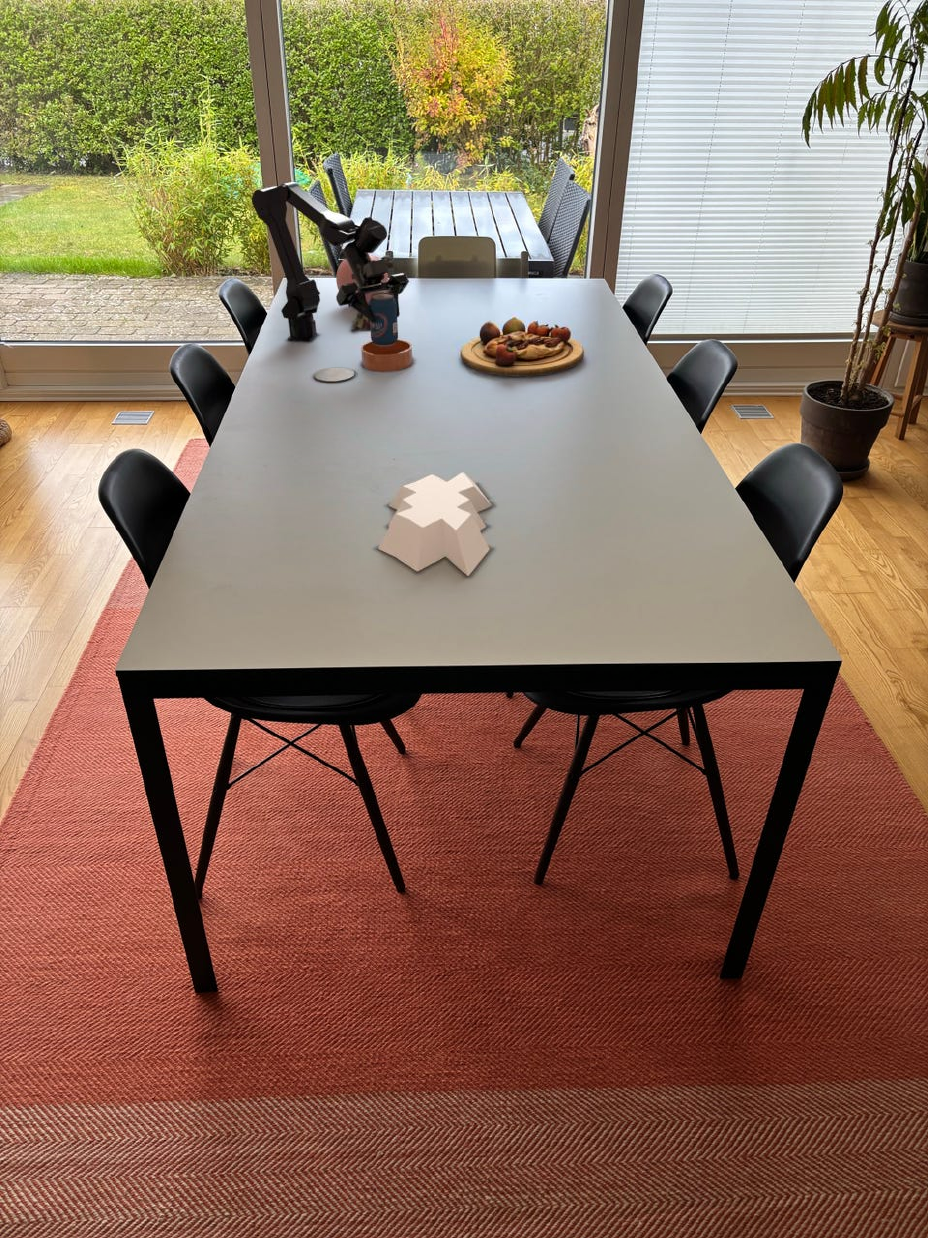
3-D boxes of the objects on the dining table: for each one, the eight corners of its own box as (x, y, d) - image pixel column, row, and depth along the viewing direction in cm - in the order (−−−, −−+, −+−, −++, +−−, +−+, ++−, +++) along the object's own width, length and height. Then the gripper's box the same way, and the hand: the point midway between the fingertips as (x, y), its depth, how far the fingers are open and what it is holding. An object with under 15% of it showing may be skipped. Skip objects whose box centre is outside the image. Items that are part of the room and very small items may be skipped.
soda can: (366, 344, 251) (362, 297, 244) (380, 336, 256) (377, 290, 249) (389, 348, 248) (386, 300, 241) (403, 340, 253) (401, 293, 246)
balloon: (334, 318, 288) (329, 264, 279) (341, 299, 305) (337, 247, 296) (386, 317, 288) (383, 263, 279) (391, 298, 304) (388, 246, 296)
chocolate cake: (376, 333, 276) (385, 295, 279) (351, 326, 275) (361, 288, 278) (373, 348, 286) (382, 310, 288) (349, 341, 285) (359, 304, 287)
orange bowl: (355, 369, 251) (354, 353, 249) (372, 352, 262) (371, 337, 259) (403, 372, 248) (402, 356, 246) (418, 356, 259) (417, 340, 256)
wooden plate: (538, 388, 237) (539, 354, 233) (435, 363, 254) (434, 331, 249) (606, 351, 258) (608, 320, 254) (507, 331, 275) (507, 301, 270)
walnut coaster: (308, 381, 245) (308, 379, 244) (323, 367, 253) (323, 366, 252) (345, 384, 242) (345, 382, 242) (360, 370, 250) (359, 368, 250)
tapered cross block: (393, 484, 195) (392, 458, 192) (493, 484, 194) (493, 458, 191) (371, 575, 166) (368, 547, 163) (488, 576, 165) (488, 547, 162)
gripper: (337, 251, 237) (363, 307, 236) (403, 239, 246) (428, 294, 245) (325, 277, 247) (350, 332, 246) (388, 265, 256) (413, 318, 254)
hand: (386, 318), depth 247 cm, fingers closed on soda can, 7 cm apart
